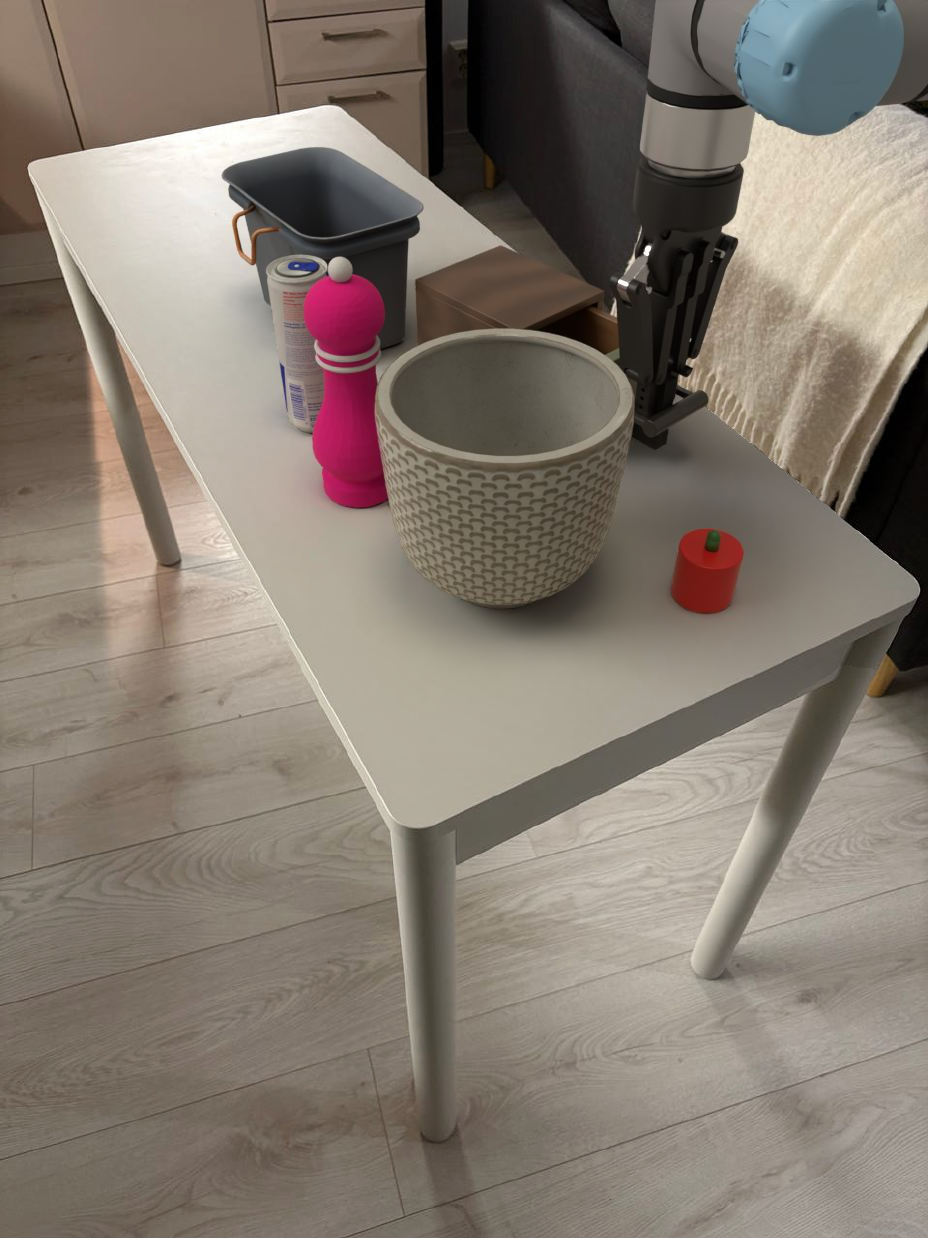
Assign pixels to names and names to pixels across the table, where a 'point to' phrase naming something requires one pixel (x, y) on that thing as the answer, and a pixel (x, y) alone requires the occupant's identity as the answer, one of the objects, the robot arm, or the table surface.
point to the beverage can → (296, 336)
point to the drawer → (603, 337)
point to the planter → (503, 460)
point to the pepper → (706, 570)
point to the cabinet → (497, 295)
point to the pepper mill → (347, 384)
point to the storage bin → (328, 220)
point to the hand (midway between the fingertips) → (648, 440)
